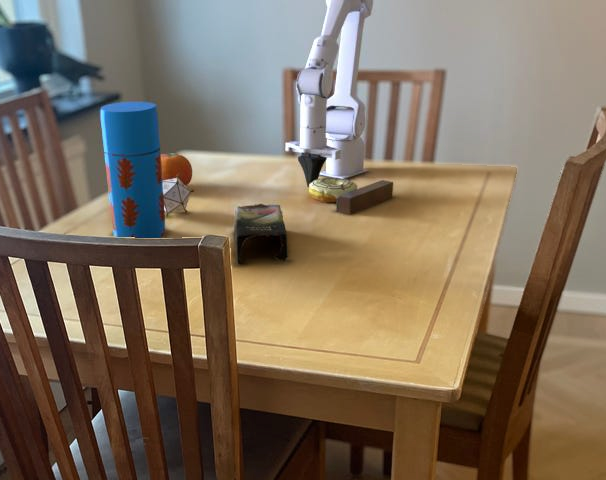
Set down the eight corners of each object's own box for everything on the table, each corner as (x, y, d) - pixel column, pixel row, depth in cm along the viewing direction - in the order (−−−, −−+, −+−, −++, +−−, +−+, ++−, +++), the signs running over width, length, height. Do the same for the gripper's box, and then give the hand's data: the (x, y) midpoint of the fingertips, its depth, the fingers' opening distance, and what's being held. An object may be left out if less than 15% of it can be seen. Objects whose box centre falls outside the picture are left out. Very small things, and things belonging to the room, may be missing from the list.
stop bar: (379, 194, 181) (379, 179, 179) (392, 197, 178) (393, 182, 177) (336, 211, 171) (336, 195, 169) (349, 214, 169) (350, 198, 167)
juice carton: (232, 229, 162) (232, 200, 159) (280, 228, 162) (281, 199, 159) (235, 266, 145) (234, 234, 141) (288, 265, 145) (289, 232, 142)
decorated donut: (346, 207, 173) (347, 189, 172) (301, 201, 178) (301, 184, 176) (363, 194, 181) (363, 177, 179) (319, 189, 186) (319, 173, 184)
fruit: (176, 197, 184) (174, 162, 180) (140, 192, 189) (137, 158, 185) (201, 185, 192) (199, 152, 188) (166, 181, 197) (164, 148, 193)
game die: (166, 231, 175) (135, 197, 170) (183, 208, 179) (154, 173, 175) (191, 218, 168) (160, 182, 164) (209, 194, 172) (178, 158, 168)
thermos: (157, 244, 156) (147, 112, 144) (106, 242, 158) (91, 112, 146) (171, 227, 165) (163, 101, 153) (122, 225, 167) (110, 101, 155)
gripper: (276, 125, 179) (276, 185, 185) (327, 133, 170) (326, 195, 176) (297, 119, 183) (296, 178, 190) (347, 127, 174) (345, 189, 181)
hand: (311, 186), depth 183 cm, fingers closed
